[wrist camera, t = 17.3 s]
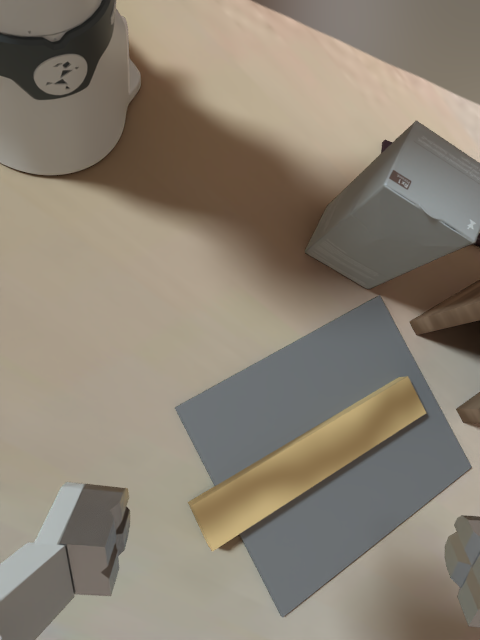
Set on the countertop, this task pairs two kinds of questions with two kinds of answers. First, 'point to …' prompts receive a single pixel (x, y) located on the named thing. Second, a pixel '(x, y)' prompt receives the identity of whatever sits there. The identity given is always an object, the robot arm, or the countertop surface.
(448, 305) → the walnut shelf
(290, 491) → the ochre block
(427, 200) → the skincare box
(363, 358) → the rubber mat
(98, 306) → the countertop surface
